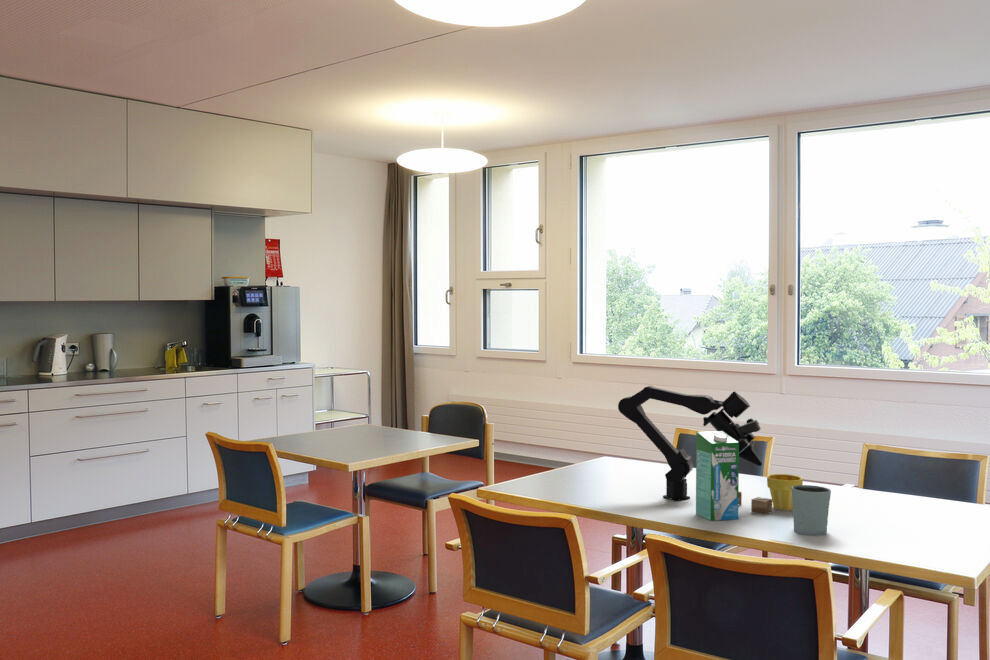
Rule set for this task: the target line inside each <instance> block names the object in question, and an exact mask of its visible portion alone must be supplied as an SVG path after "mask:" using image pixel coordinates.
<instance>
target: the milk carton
mask: <svg viewBox="0 0 990 660" xmlns="http://www.w3.org/2000/svg"><path fill="white" fill-rule="evenodd" d="M695 434H696V437H695V440H696V441H695V443H696V445H695V446H696V447H695V449H696V450H695V459H696V460H695V464H696V466H695V469H696V470H695V514H696V515H698V516H700V517H701V518H704V519H706V520H708V521H711V522H715V521H717V522H718V521H731V520H738V519H739V505H738V492H739V481H740V480H739V476H740V475H739V474H740V473H739V470H740V469H739V467H740V465H739V463H740V461H739V459H740V457H739V453H740V452H739V442H737V441H736V440H735V439H733V438H732V437H730V436H729V435H728V434H726V433H725V432H723V431H717V430H713V431H711V430H710V431H709V430H708V431H696V433H695Z"/></svg>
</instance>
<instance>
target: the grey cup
mask: <svg viewBox="0 0 990 660" xmlns="http://www.w3.org/2000/svg"><path fill="white" fill-rule="evenodd" d="M831 493H832V490H831V489H830V488H828V487H824V486H818V485H810V484H809V485H807V484H803V485H796V486H792V502H793V510H792V517H793V530H794V532H796V533H798V534H800V535H806V536H824V535H826V534H827V532H828V522H829V521H828V518H829V511H830V510H829V509H830V500H831Z"/></svg>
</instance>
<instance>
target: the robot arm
mask: <svg viewBox="0 0 990 660" xmlns="http://www.w3.org/2000/svg"><path fill="white" fill-rule="evenodd" d="M650 399H651V400H656V401H660V402H664V403H668V404H672V405H677V406H681V407H685V408H686V409H689V410H691V412H692V411H693V412H695V413H696V414H697V413H698V414H700V415H708V414H709V413H711V412H712V411H713V412H712V413H711V414H709V416H707V417H706V416H704V417H703V418H702V419H703V424H702V425H703V427H706V426H707V425H708V424H710V425H711V426H712V427H713V428H714V429H715V431H723V432H725V433H726V434H728V435H729V436H730V437H732V438H733V439H735V440H736V441H737V442H739V458H741V459H744V460H745V461H748V462H750V463H752V464H754V465H757V466H759V467H761V466H763V462H762V460H761V459H760V457H759V455H758V453H757V452H756V450H755V448H754V447H755V441H754V439H755V438H756V436H755V435H754V434H753V433H757V432H759V431H760V430H761V427H760V423H759V422H758V420H757V419H753V418H749V419H746V423H744V424H742V425H740V424H739V423H735V422H734V421H733V420H732V418H736V419H738V418H739V417H740V416H741V415H742V414H743V413H744V412H746V411H747V410H748V409H749V408H750V407H751V405H750V404H749V402H748V401H747V400H746V399H745V397H742V395H740V394H739V393H737V392H736V390H734V391H733V392H731V393H730V394H729V396H728V397H726V398H725V399H724V400H717V399H714V398H713V397H712V396H710V395H706V394H687V393H681V392H677V391H672V390H668V389H664V388H660V387H655V386H653V385H649V386H644V388H643V389H641V390H640V391H638V392H636V393H635V394H633V395H632V396H631V395H630V396H627V397H624V398H621V399H620V401H619V402H618V404H617V407H618V408H617V409H618V411H619V413H620V414H621V415H623V416H624V417H625V418H626V419H627V420H630V422H633V423H634V424H636V425H637V427H638V428H640V430H641V431H642V432H643V433H644V434H645V436H646V437H647V438H648V439H649V440H650V441H651V442H652V443H653V444H654V446H655V447H656V449H658V450H659V451H660V452H661V454H662V455H663V456H664V458H665V459H666V463H667V464H668V465H667V466H669V467H670V470H668V472H666V473H665V475H664V476H665V480H666V484H665V485H666V490H665V491H666V492H665V494H664V495H662V498H666V499H670V500H673V501H682V500H688V499H690V498H691V496H689V495H688V483H687V481H688V480H687V476H688V475H689V474H690V473H691V472H692V471H693V468H694V463H693V460H692V456H690V455H689V454H688V453H687V451H686V450H685V449H684V448H681V449H680V450H679V449H678V448H676V447H675V446H674V445H673V444H672V443H671V441H669V440H668V438H667V437H666V436H665V435H664V434H663V433H662V432H661V431H660V429H659V428H658V427H657V426H656V425H655V424H654V423H653V422H652V420H651V419H650V418H649V417H648V416H647V415H646V412H645V410H644V408H643V406H642V405H643V404H644V403H646V402H647V401H649V400H650ZM720 408H721V409H720ZM719 409H720V410H719ZM716 410H719V411H718V412H716Z"/></svg>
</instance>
